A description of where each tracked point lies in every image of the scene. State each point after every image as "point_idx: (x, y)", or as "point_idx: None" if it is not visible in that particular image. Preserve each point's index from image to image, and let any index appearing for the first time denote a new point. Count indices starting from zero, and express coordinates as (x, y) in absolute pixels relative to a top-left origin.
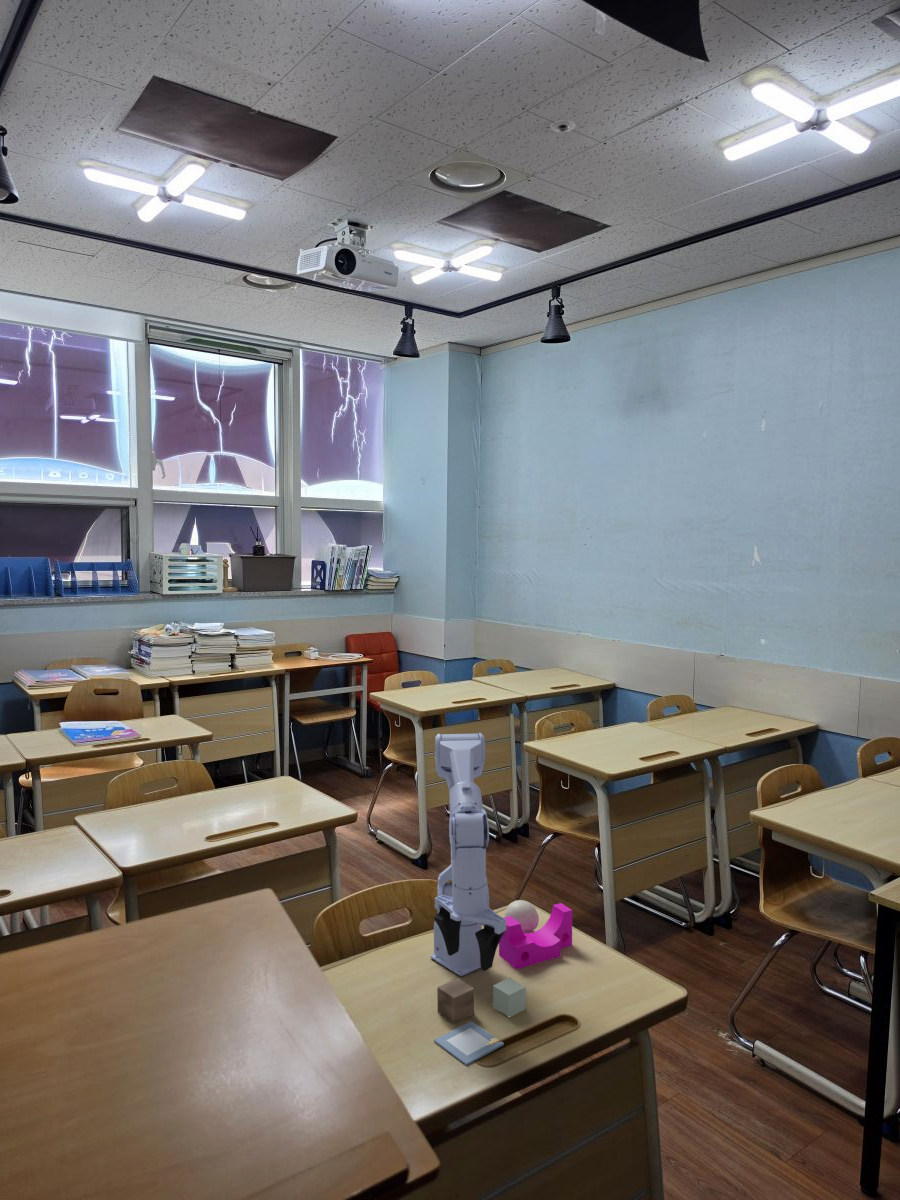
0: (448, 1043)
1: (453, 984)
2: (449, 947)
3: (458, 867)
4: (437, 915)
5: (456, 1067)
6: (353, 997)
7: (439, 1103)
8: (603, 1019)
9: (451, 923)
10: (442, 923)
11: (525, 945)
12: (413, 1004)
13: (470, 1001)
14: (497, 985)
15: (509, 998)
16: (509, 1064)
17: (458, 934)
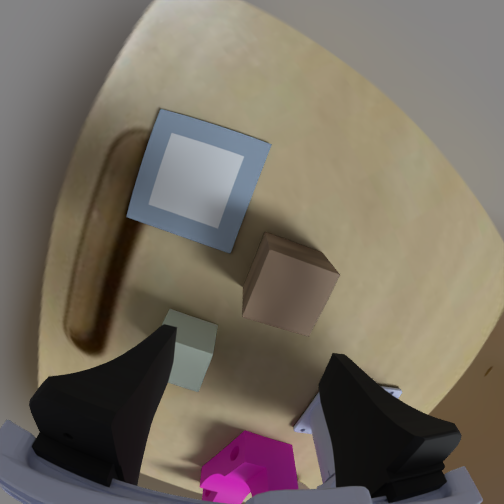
0: (233, 148)
1: (304, 306)
2: (344, 370)
3: None
4: (448, 448)
5: (178, 94)
6: (479, 215)
7: (161, 5)
8: (55, 360)
9: (368, 454)
10: (412, 429)
11: (233, 469)
12: (381, 251)
13: (246, 291)
14: (204, 358)
15: None
16: (92, 166)
17: (332, 431)
